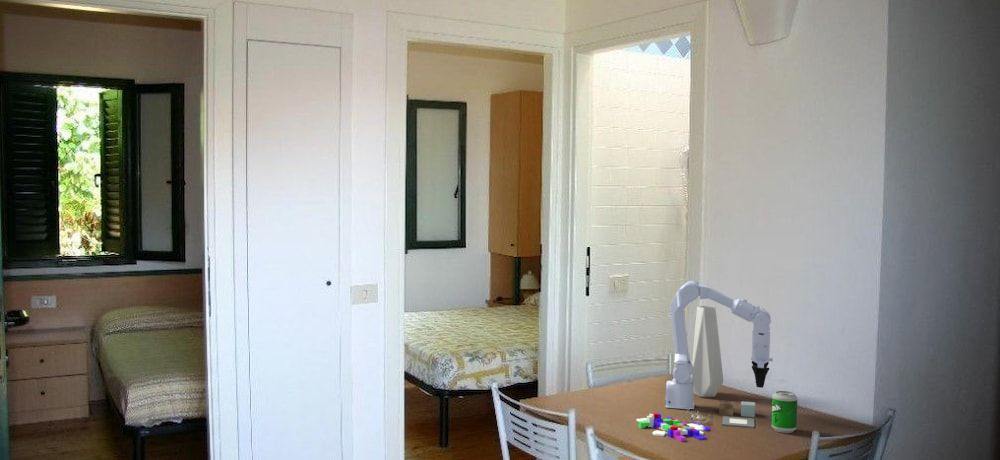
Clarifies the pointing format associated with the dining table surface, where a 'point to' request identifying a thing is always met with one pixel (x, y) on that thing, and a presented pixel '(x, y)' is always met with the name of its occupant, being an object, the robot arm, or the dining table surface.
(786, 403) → the soda can
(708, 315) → the vase
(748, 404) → the pale grey cube
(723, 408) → the walnut block
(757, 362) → the robot arm
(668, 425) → the building block set
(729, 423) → the grey flat square plate
